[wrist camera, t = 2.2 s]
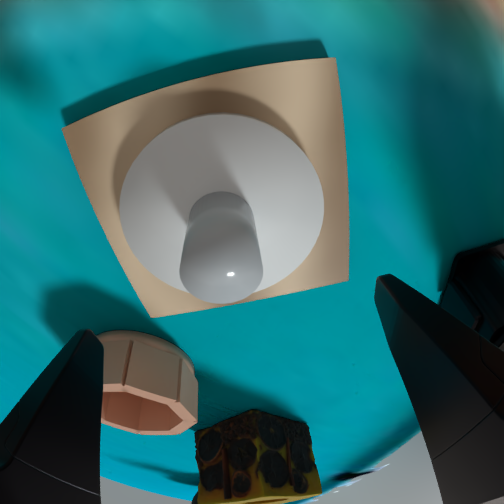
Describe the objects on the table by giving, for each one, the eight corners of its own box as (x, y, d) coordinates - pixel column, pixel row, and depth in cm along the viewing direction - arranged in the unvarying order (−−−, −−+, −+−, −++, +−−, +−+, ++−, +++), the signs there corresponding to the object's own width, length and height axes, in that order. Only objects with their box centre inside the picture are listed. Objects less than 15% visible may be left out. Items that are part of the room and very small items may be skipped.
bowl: (168, 323, 19) (161, 381, 15) (208, 387, 24) (209, 433, 20) (67, 335, 19) (51, 383, 16) (121, 392, 25) (114, 433, 21)
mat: (329, 57, 10) (335, 57, 10) (344, 271, 17) (348, 280, 17) (69, 124, 11) (61, 128, 10) (153, 308, 18) (151, 318, 17)
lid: (305, 93, 11) (345, 112, 7) (323, 265, 16) (349, 328, 12) (97, 147, 11) (48, 191, 8) (165, 297, 16) (154, 363, 13)
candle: (192, 430, 31) (193, 505, 23) (252, 405, 27) (262, 497, 19) (251, 445, 36) (258, 507, 28) (310, 422, 32) (324, 494, 24)
